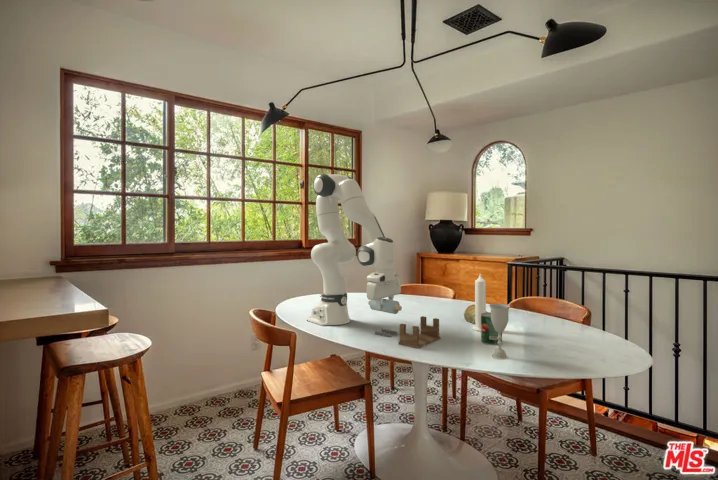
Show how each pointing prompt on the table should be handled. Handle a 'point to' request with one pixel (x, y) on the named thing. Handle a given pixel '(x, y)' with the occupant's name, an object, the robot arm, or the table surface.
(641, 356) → the table surface
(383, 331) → the rest strips
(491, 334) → the canned tomato
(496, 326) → the chalice
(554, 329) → the table surface
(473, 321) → the pastry
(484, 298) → the candle
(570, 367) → the table surface
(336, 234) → the robot arm
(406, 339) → the roll holder
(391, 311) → the paper roll
